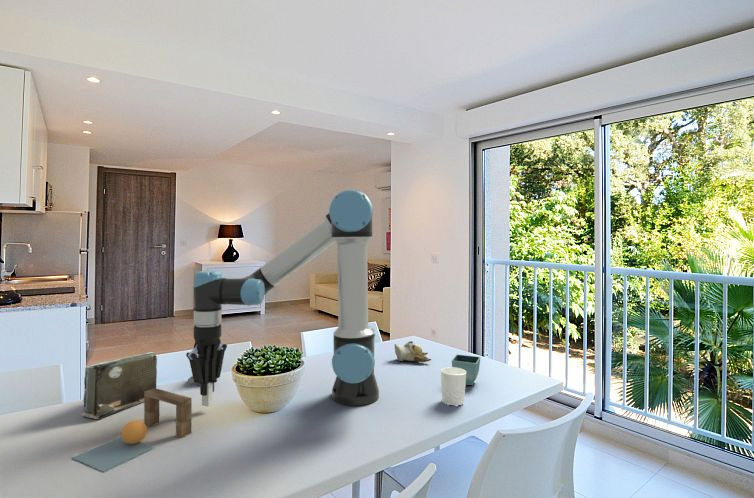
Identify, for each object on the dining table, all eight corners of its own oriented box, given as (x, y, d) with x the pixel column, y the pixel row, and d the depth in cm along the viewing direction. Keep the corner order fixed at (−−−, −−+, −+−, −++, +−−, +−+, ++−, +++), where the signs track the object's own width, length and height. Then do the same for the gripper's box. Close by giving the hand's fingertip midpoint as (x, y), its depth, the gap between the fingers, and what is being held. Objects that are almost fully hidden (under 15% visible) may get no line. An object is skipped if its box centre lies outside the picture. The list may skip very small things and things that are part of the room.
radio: (150, 389, 140) (151, 344, 140) (169, 394, 137) (169, 348, 136) (75, 416, 119) (75, 363, 119) (94, 422, 116) (94, 368, 115)
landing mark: (154, 447, 102) (154, 447, 102) (103, 472, 92) (103, 471, 92) (123, 436, 108) (123, 435, 108) (71, 458, 97) (71, 457, 97)
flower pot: (450, 385, 149) (451, 360, 149) (455, 378, 157) (456, 353, 157) (476, 389, 146) (476, 363, 145) (480, 381, 154) (480, 356, 154)
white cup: (468, 400, 136) (468, 369, 136) (462, 409, 129) (463, 376, 128) (444, 396, 139) (444, 365, 139) (437, 404, 132) (437, 372, 132)
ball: (138, 420, 102) (124, 443, 100) (156, 426, 106) (143, 449, 104) (125, 414, 105) (111, 437, 102) (143, 421, 109) (130, 443, 106)
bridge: (154, 421, 117) (154, 388, 116) (191, 433, 110) (191, 398, 110) (144, 425, 114) (144, 391, 114) (181, 437, 108) (181, 401, 107)
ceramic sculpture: (393, 336, 182) (428, 339, 183) (392, 356, 183) (426, 359, 183) (395, 343, 172) (432, 346, 172) (394, 364, 172) (430, 367, 173)
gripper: (216, 319, 130) (215, 395, 131) (179, 327, 119) (179, 410, 120) (234, 321, 127) (233, 399, 128) (198, 330, 115) (197, 416, 116)
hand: (207, 404), depth 124 cm, fingers closed
